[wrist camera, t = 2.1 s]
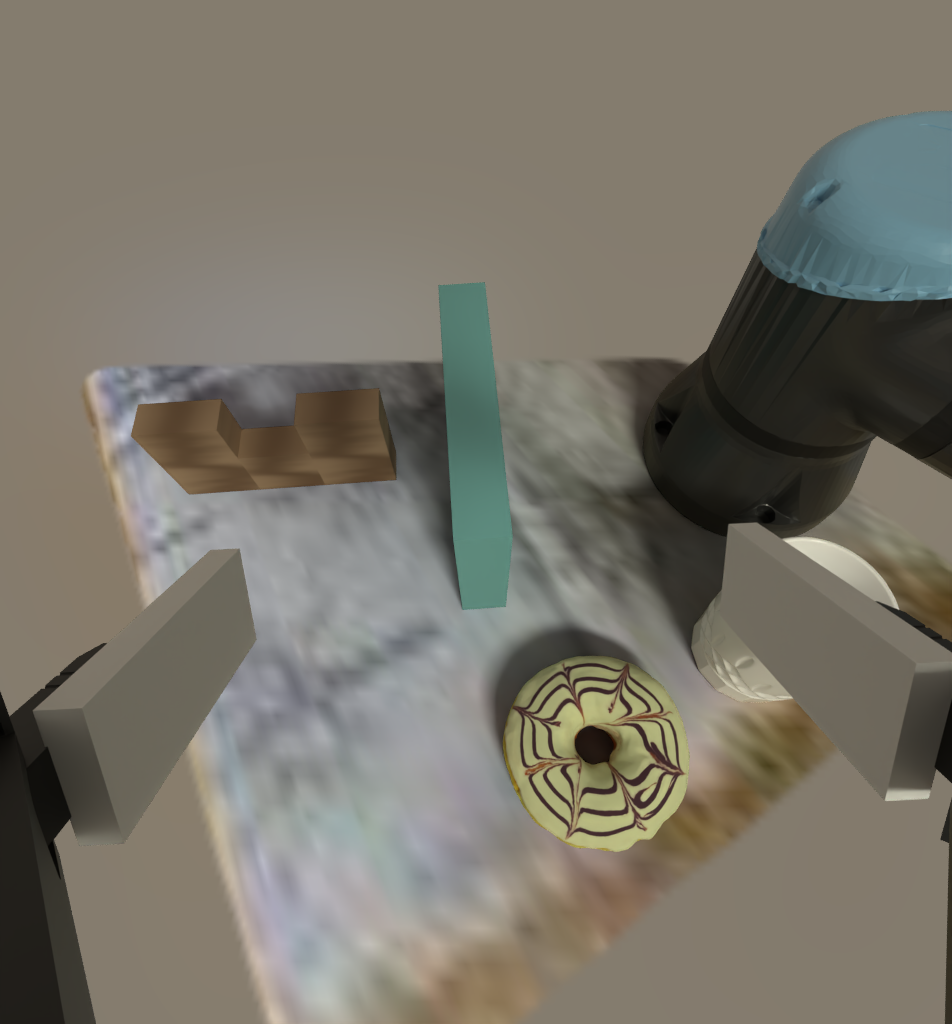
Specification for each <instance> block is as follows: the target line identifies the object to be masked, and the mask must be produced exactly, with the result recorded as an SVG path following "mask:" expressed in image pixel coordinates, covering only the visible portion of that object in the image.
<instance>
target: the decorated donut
mask: <svg viewBox="0 0 952 1024" xmlns="http://www.w3.org/2000/svg"><path fill="white" fill-rule="evenodd" d="M586 726H594V727H596V728H599V729H603V730H604V731H605V732H606V733H607V734H609V735H608V736H610V737H611V739H612V741H613V744H614V749H613V750H614V751H613V752H612V753H611V756H610V761H609V762H603V763H598V764H595V765H592V764H590V763H587V762H585V761H584V760H583V759H582V758H581V757H580V756H579V754H578V753H577V751H576V749H575V739H576V738H577V737H576V736H577V735H578V733H579V731H580V730H581V729H582V728H584V727H586ZM503 751H504V758H505V762H506V766H507V769H508V772H509V774H510V778H511V781H512V784H513V786H514V789H515V791H516V793H517V795H518V796H519V799H520V801H521V803H522V805H523V807H524V808H525V809H526V810H527V812H528V813H529V815H530V816H531V817H532V819H533V820H534V821H535V822H536V823H537V824H538V825H540V826H541V827H543V828H544V829H546V830H548V831H549V832H551V833H552V834H553V835H554V836H556V837H557V838H558V839H559V840H561V841H563V842H565V843H566V844H568V845H571V846H573V847H576V848H591V849H595V848H596V849H601V850H604V851H614V852H618V851H623V850H627V849H629V848H630V847H631V846H632V845H633V844H634V843H635V842H636V841H639V840H641V839H651V838H652V837H653V836H654V835H655V834H656V832H657V830H658V829H659V828H660V826H661V825H662V823H663V822H664V821H665V820H667V819H668V818H669V817H670V816H671V815H672V814H673V813H674V812H675V811H676V810H677V808H678V807H679V805H680V803H681V802H682V800H683V797H684V794H685V791H686V788H687V779H688V774H689V758H690V756H689V749H688V742H687V738H686V732H685V729H684V726H683V721H682V719H681V717H680V715H679V713H678V710H677V708H676V706H675V704H674V702H673V700H672V699H671V697H670V696H669V694H668V693H667V691H666V690H665V688H664V687H663V686H662V685H661V684H660V683H659V682H658V681H657V680H655V679H654V678H652V677H651V676H650V675H649V674H648V673H646V672H645V671H643V670H641V669H640V668H639V667H637V666H636V665H634V664H631V663H628V662H626V661H622V660H619V659H617V658H613V657H607V656H576V657H573V658H568V659H565V660H562V661H560V662H558V663H556V664H553V665H551V666H549V667H546V668H544V669H542V670H541V671H539V672H538V673H537V674H536V675H535V676H534V677H533V678H532V679H530V680H529V681H528V682H527V683H526V684H525V685H524V686H523V687H522V689H521V690H520V692H519V693H518V695H517V697H516V699H515V701H514V703H513V705H512V707H511V710H510V713H509V715H508V718H507V721H506V725H505V730H504V736H503Z"/></svg>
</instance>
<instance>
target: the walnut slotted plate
mask: <svg viewBox="0 0 952 1024" xmlns="http://www.w3.org/2000/svg"><path fill="white" fill-rule="evenodd" d="M131 437H132V438H133V439H134V440H135V441H136V442H137V443H138V444H139V445H140V446H141V447H142V448H143V449H144V450H145V451H146V452H147V453H148V454H149V455H150V456H151V457H152V458H153V459H154V460H155V461H156V462H157V463H158V464H159V465H160V466H161V467H162V468H163V469H164V470H165V471H166V472H167V473H168V474H169V475H170V476H171V477H172V478H173V479H174V480H175V481H176V482H177V483H178V484H179V485H180V486H181V487H182V488H183V489H184V490H185V491H186V492H187V493H188V494H202V493H216V492H230V491H244V490H259V489H273V488H287V487H301V486H315V485H330V484H344V483H358V482H372V481H386V480H396V450H395V447H394V443H393V439H392V435H391V432H390V428H389V424H388V421H387V417H386V413H385V409H384V406H383V402H382V398H381V394H380V391H379V388H376V389H361V390H346V391H332V392H317V393H302V394H297V395H296V406H295V418H294V426H280V427H266V428H251V429H241V427H240V426H239V424H238V423H237V421H236V420H235V418H234V417H233V415H232V414H231V412H230V411H229V410H228V408H227V407H226V405H225V404H224V402H223V401H222V399H214V400H199V401H184V402H169V403H155V404H140V405H138V408H137V412H136V417H135V421H134V425H133V429H132V433H131Z"/></svg>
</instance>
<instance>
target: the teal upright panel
mask: <svg viewBox="0 0 952 1024" xmlns="http://www.w3.org/2000/svg"><path fill="white" fill-rule="evenodd" d="M439 303H440V319H441V337H442V353H443V372H444V389H445V406H446V423H447V441H448V458H449V475H450V492H451V509H452V527H453V542H454V550H455V557H456V565H457V572H458V579H459V587H460V594H461V602H462V609H463V610H467V609H481V608H494V607H506V598H507V588H508V578H509V568H510V558H511V548H512V538H513V536H512V527H511V517H510V508H509V499H508V490H507V481H506V472H505V462H504V453H503V444H502V435H501V426H500V417H499V407H498V398H497V389H496V380H495V371H494V362H493V352H492V344H491V334H490V325H489V317H488V307H487V298H486V288H485V283H484V282H483V283H468V284H454V285H453V284H452V285H439Z"/></svg>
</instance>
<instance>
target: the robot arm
mask: <svg viewBox="0 0 952 1024" xmlns="http://www.w3.org/2000/svg"><path fill="white" fill-rule="evenodd" d="M876 436H878V437H880V438H882V439H884V440H885V441H887V442H889V443H890V444H893V445H894V446H896V447H898V448H900V449H902V450H903V451H905V452H906V453H908V454H910V455H912V456H913V457H915V458H917V459H918V460H920V461H921V462H923V463H925V464H926V465H928V466H930V467H931V468H933V469H935V470H937V471H938V472H940V473H942V474H943V475H945V476H947V477H949V478H950V479H952V111H928V112H916V113H912V114H908V115H899V116H892V117H886V118H883V119H878V120H875V121H872V122H869V123H866V124H863V125H860V126H858V127H855V128H853V129H851V130H849V131H847V132H845V133H843V134H841V135H839V136H837V137H836V138H834V139H833V140H831V141H830V142H828V143H827V144H825V145H824V146H823V147H821V149H819V150H818V151H817V152H816V153H815V154H814V155H813V156H812V157H811V158H810V159H809V160H808V161H807V162H806V163H805V164H804V166H803V167H802V168H801V170H800V172H799V173H798V174H797V176H796V178H795V179H794V181H793V183H792V185H791V186H790V188H789V190H788V192H787V193H786V195H785V197H784V199H783V200H782V202H781V204H780V206H779V207H778V209H777V211H776V213H775V214H774V215H773V216H772V217H771V218H770V219H769V220H768V221H767V223H766V224H765V226H764V227H763V229H762V231H761V236H760V238H759V240H758V245H757V249H756V251H755V253H754V255H753V257H752V259H751V261H750V263H749V265H748V267H747V269H746V271H745V273H744V276H743V278H742V280H741V282H740V284H739V286H738V288H737V290H736V292H735V294H734V296H733V298H732V300H731V302H730V304H729V307H728V308H727V310H726V312H725V314H724V316H723V318H722V321H721V323H720V325H719V327H718V329H717V331H716V333H715V335H714V337H713V340H712V341H711V344H710V345H709V347H708V349H707V351H706V352H705V353H703V354H702V355H701V356H700V357H699V358H698V359H697V360H696V361H694V362H693V363H692V364H691V365H690V366H688V367H687V368H686V369H685V370H684V371H683V372H681V373H680V374H679V375H678V376H677V377H676V378H675V379H673V380H672V381H671V382H670V383H669V384H668V385H667V386H666V388H665V389H664V390H663V391H662V393H661V394H660V396H659V397H658V399H657V400H656V402H655V405H654V407H653V409H652V411H651V414H650V416H649V418H648V421H647V423H646V427H645V431H644V437H643V450H644V456H645V461H646V464H647V468H648V470H649V473H650V475H651V477H652V479H653V481H654V483H655V484H656V486H657V487H658V489H659V490H660V492H661V493H662V494H663V496H664V497H665V498H666V499H667V500H668V501H669V503H670V504H672V505H673V506H674V507H675V508H676V509H677V510H678V511H679V512H680V513H682V514H683V515H684V516H686V517H687V518H688V519H690V520H691V521H693V522H695V523H696V524H698V525H700V526H702V527H704V528H706V529H708V530H710V531H712V532H715V533H717V534H720V535H723V536H726V537H727V544H726V554H725V564H724V574H723V584H722V594H721V603H720V613H719V615H720V617H721V618H722V619H723V620H724V621H725V622H726V623H727V624H728V626H729V627H730V628H731V629H732V630H733V631H734V632H735V633H736V635H737V636H738V637H739V638H740V639H741V640H742V641H743V642H744V644H745V645H746V646H747V647H748V648H749V649H750V650H751V651H752V653H753V654H754V655H755V656H756V657H757V658H758V659H759V660H760V661H761V663H762V664H763V665H764V666H765V667H766V668H767V669H768V670H769V672H770V673H771V674H772V675H773V676H774V677H775V678H776V679H777V681H778V682H779V683H780V684H781V685H782V686H783V687H784V688H785V690H786V691H787V692H788V693H789V694H790V695H791V696H792V697H793V699H794V700H795V701H796V702H797V703H798V704H799V705H800V706H801V707H802V709H803V710H804V711H805V712H806V713H807V714H808V715H809V716H810V718H811V719H812V720H813V721H814V722H815V723H816V724H817V725H818V727H819V728H820V729H821V730H822V731H823V732H824V733H825V734H826V736H827V737H828V738H829V739H830V740H831V741H832V742H833V743H834V745H835V746H836V747H837V748H838V749H839V750H840V751H841V752H842V753H843V755H844V756H845V757H846V758H847V759H848V760H849V761H850V762H851V763H852V765H853V766H854V767H855V768H856V769H857V770H858V771H859V773H860V774H861V775H862V776H863V777H864V778H865V779H866V780H867V781H868V783H869V784H870V785H871V786H872V787H873V788H874V789H875V790H876V792H877V793H878V794H879V795H880V796H881V797H882V798H883V799H884V800H885V801H894V800H911V799H928V798H929V795H930V791H931V787H932V783H933V780H934V776H935V771H936V769H937V770H938V771H939V772H941V774H942V775H944V776H945V777H946V778H947V779H948V780H949V781H950V782H951V783H952V642H950V641H949V640H947V639H942V636H941V635H939V634H938V633H936V632H935V631H933V630H932V629H930V628H925V625H924V624H922V623H921V622H919V621H918V620H916V619H915V618H913V617H911V616H910V615H908V614H907V613H905V612H903V611H901V610H898V609H896V608H893V607H891V606H888V605H886V604H883V603H881V602H878V601H874V600H872V599H871V598H869V597H868V596H866V595H865V594H863V593H862V592H860V591H859V590H857V589H856V588H854V587H853V586H851V585H850V584H848V583H847V582H845V581H844V580H842V579H841V578H839V577H838V576H836V575H835V574H833V573H832V572H830V571H829V570H827V569H826V568H824V567H823V566H821V565H820V564H818V563H817V562H815V561H814V560H812V559H811V558H809V557H808V556H806V555H805V554H803V553H802V552H800V551H799V550H797V549H796V548H794V547H793V546H791V545H790V544H788V543H787V542H785V541H784V540H782V539H783V538H788V537H795V536H798V535H801V534H803V533H805V532H807V531H809V530H810V529H812V528H814V527H815V526H816V525H818V524H819V523H820V522H822V521H823V520H824V519H825V518H826V517H828V516H829V515H830V514H831V513H832V512H834V511H835V510H836V509H837V508H838V507H839V506H840V505H841V504H842V502H843V501H844V500H845V499H846V497H847V496H848V494H849V493H850V491H851V489H852V487H853V485H854V483H855V480H856V478H857V475H858V473H859V470H860V468H861V465H862V463H863V460H864V458H865V455H866V453H867V450H868V448H869V446H870V443H871V441H872V440H873V439H874V438H875V437H876ZM256 640H257V639H256V634H255V629H254V623H253V618H252V613H251V607H250V602H249V597H248V591H247V586H246V581H245V575H244V570H243V565H242V560H241V554H240V549H224V550H210V551H209V552H208V553H207V554H206V555H205V556H204V557H202V558H201V559H200V560H199V561H198V562H197V563H196V564H195V565H194V566H193V567H191V568H190V569H189V570H188V571H187V572H186V573H185V574H184V575H183V576H181V577H180V578H179V579H178V580H177V581H176V582H175V583H174V584H173V585H171V586H170V587H169V588H168V589H167V590H166V591H165V592H164V593H163V594H161V595H160V596H159V597H158V598H157V599H156V600H155V601H154V602H153V603H151V604H150V605H149V606H148V607H147V608H146V609H145V610H144V611H143V612H141V613H140V614H139V615H138V616H137V617H136V618H135V619H134V620H133V621H132V622H130V623H129V624H128V625H127V626H126V627H125V628H124V629H123V630H122V631H120V632H119V633H118V634H117V635H116V636H115V637H114V638H113V639H112V640H110V641H109V642H108V643H103V644H101V645H99V646H97V647H95V648H94V649H92V650H90V651H88V652H86V653H85V654H83V655H81V656H79V657H78V658H76V659H75V660H74V661H73V662H72V663H71V664H70V665H68V667H66V668H65V669H64V670H63V671H62V672H60V676H56V677H55V678H53V679H52V680H51V681H50V682H49V683H48V684H47V685H46V686H45V689H41V690H40V691H38V692H37V694H35V695H34V696H33V697H32V698H30V699H29V700H28V701H27V702H26V703H25V704H24V705H22V706H21V707H20V708H19V709H18V710H17V711H15V712H14V713H13V714H12V715H11V716H10V717H9V714H8V712H7V709H6V706H5V703H4V700H3V698H2V695H1V692H0V1024H96V1021H95V1017H94V1013H93V1008H92V1004H91V998H90V994H89V989H88V985H87V980H86V975H85V971H84V966H83V962H82V958H81V953H80V948H79V943H78V939H77V934H76V929H75V925H74V920H73V916H72V911H71V906H70V902H69V897H68V893H67V888H66V883H65V879H64V875H63V870H62V865H61V860H60V856H59V853H58V850H57V847H56V844H55V842H54V838H55V837H56V836H57V834H58V833H59V832H60V831H61V829H62V828H63V827H64V826H65V824H66V823H67V822H68V821H69V819H70V821H71V824H72V827H73V829H74V833H75V836H76V838H77V841H78V844H79V846H89V845H106V844H107V845H108V844H124V843H125V842H126V840H127V839H128V837H129V835H130V834H131V832H132V831H133V829H134V828H135V826H136V825H137V823H138V821H139V820H140V818H141V817H142V815H143V814H144V812H145V811H146V809H147V808H148V806H149V805H150V803H151V802H152V800H153V798H154V797H155V795H156V794H157V792H158V791H159V789H160V788H161V786H162V784H163V783H164V781H165V780H166V778H167V777H168V775H169V774H170V772H171V771H172V769H173V768H174V766H175V764H176V763H177V761H178V760H179V758H180V757H181V755H182V754H183V752H184V751H185V749H186V748H187V746H188V744H189V743H190V741H191V740H192V738H193V737H194V735H195V734H196V732H197V731H198V729H199V727H200V726H201V724H202V723H203V721H204V720H205V718H206V717H207V715H208V714H209V712H210V711H211V709H212V707H213V706H214V704H215V703H216V701H217V700H218V698H219V697H220V695H221V694H222V692H223V690H224V689H225V687H226V686H227V684H228V683H229V681H230V680H231V678H232V677H233V675H234V673H235V672H236V670H237V669H238V667H239V666H240V664H241V663H242V661H243V660H244V658H245V657H246V655H247V653H248V652H249V650H250V649H251V647H252V646H253V644H254V643H255V641H256ZM941 840H943V841H945V842H948V843H949V873H948V874H949V876H948V917H947V958H946V1001H945V1024H952V800H951V803H950V807H949V810H948V814H947V817H946V821H945V825H944V828H943V832H942V836H941Z"/></svg>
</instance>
